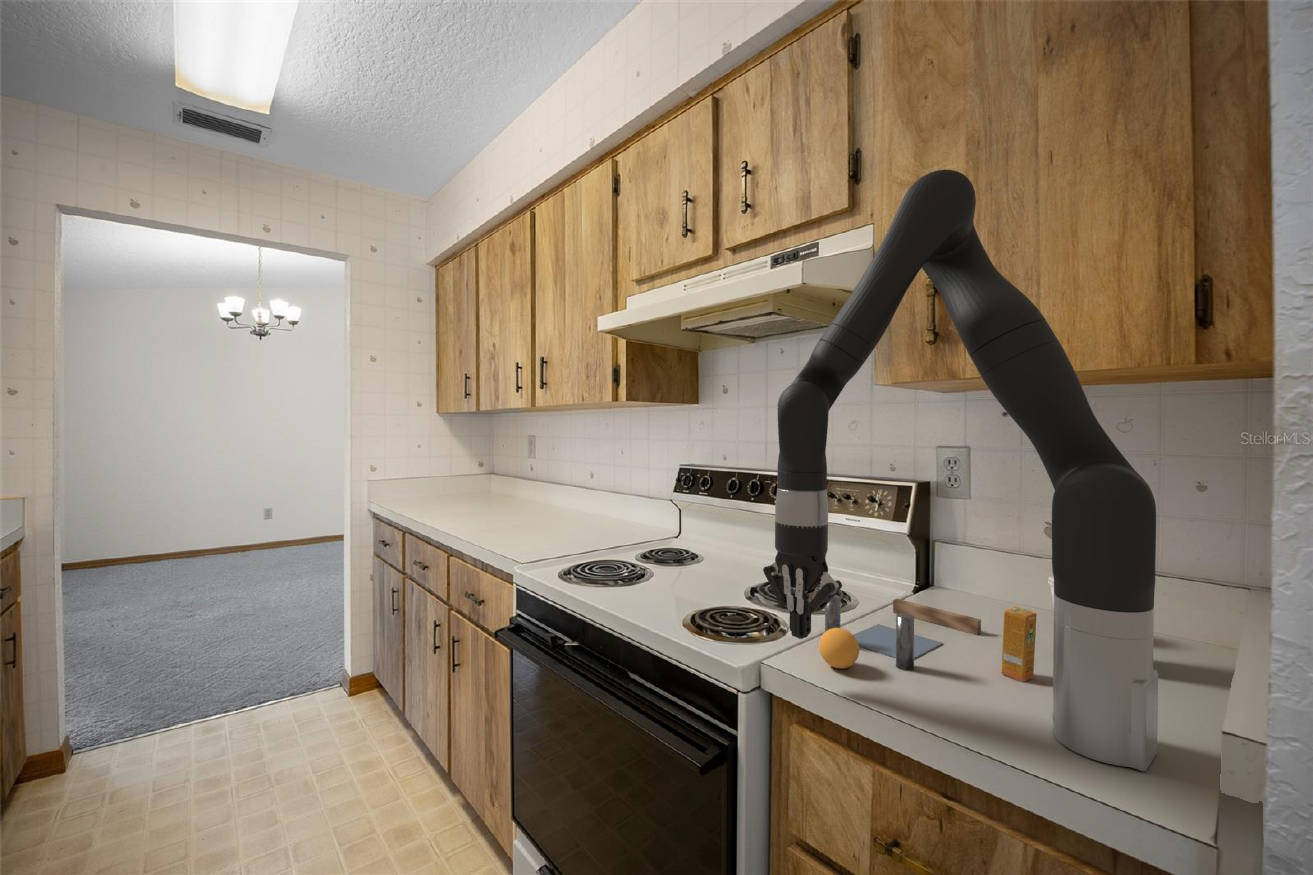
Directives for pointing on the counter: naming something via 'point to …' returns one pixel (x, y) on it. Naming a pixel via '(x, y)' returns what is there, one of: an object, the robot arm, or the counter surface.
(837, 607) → the post outer
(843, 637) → the ball
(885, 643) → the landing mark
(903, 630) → the post inner
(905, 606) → the wall
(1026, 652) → the supplement box
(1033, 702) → the counter surface
